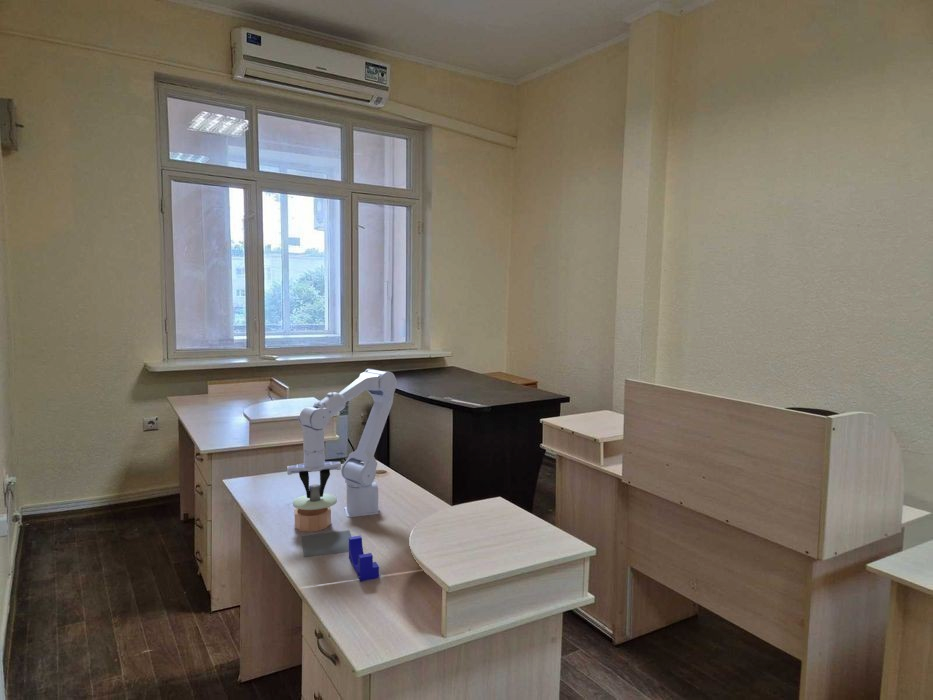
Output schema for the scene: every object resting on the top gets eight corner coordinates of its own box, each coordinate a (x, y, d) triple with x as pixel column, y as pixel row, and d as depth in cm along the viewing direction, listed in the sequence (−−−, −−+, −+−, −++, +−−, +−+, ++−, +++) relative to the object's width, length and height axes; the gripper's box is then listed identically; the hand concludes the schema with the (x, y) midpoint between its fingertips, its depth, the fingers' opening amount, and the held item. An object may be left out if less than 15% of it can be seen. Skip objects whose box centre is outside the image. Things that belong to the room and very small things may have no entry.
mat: (349, 531, 163) (349, 530, 163) (355, 551, 151) (355, 550, 151) (301, 537, 159) (301, 535, 159) (304, 558, 147) (304, 557, 147)
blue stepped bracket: (378, 578, 138) (378, 554, 137) (360, 582, 136) (360, 557, 136) (366, 556, 149) (366, 534, 148) (349, 559, 147) (348, 537, 147)
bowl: (329, 516, 174) (328, 502, 173) (332, 529, 164) (332, 514, 164) (294, 520, 171) (293, 505, 170) (295, 534, 161) (295, 518, 161)
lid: (333, 494, 172) (333, 478, 172) (339, 506, 161) (339, 489, 161) (291, 498, 168) (291, 482, 168) (294, 512, 157) (294, 494, 156)
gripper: (287, 455, 157) (288, 504, 158) (341, 451, 162) (342, 498, 163) (286, 448, 164) (287, 495, 165) (338, 444, 168) (339, 489, 170)
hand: (314, 496), depth 165 cm, fingers closed on lid, 3 cm apart
